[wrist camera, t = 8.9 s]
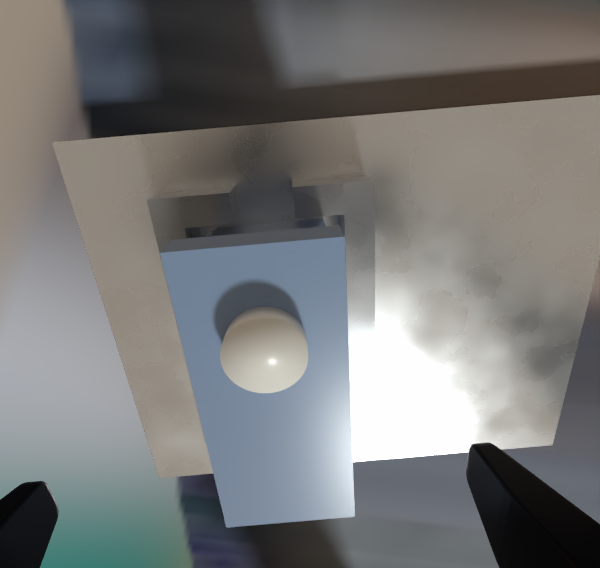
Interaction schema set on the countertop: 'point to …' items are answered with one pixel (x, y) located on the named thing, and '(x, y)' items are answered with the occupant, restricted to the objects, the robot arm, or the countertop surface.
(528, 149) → the chassis plate
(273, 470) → the block
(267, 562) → the countertop surface
